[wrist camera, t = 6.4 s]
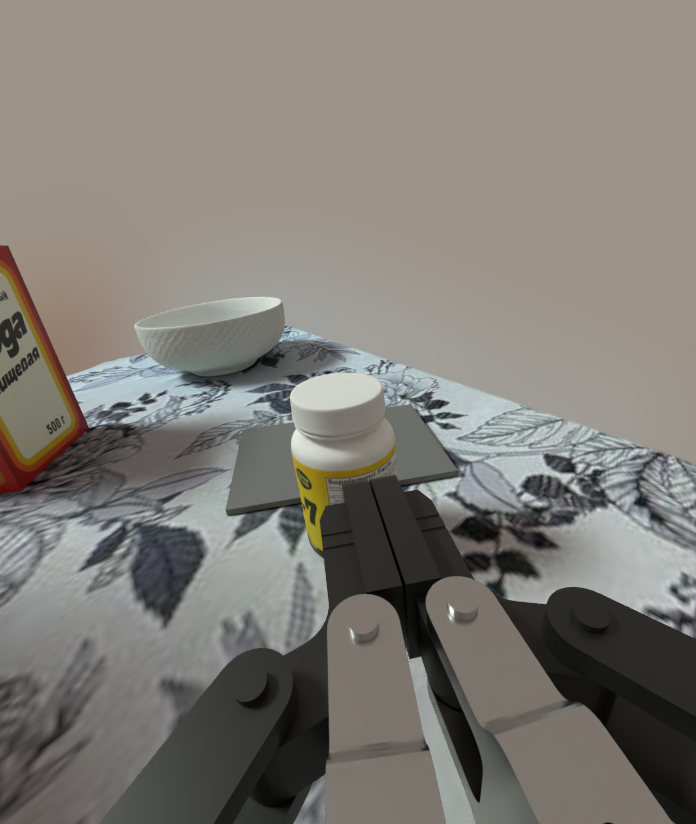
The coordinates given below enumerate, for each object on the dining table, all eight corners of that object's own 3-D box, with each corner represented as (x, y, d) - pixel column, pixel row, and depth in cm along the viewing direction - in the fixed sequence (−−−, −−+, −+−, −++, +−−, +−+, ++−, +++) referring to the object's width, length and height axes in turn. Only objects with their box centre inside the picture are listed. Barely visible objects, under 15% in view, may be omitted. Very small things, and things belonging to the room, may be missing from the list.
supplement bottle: (306, 515, 22) (281, 376, 19) (387, 500, 23) (378, 362, 19) (313, 584, 18) (280, 421, 14) (412, 564, 18) (406, 401, 15)
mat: (457, 475, 24) (457, 470, 24) (227, 515, 23) (225, 510, 23) (411, 408, 33) (410, 404, 33) (243, 434, 32) (242, 430, 32)
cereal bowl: (297, 340, 57) (289, 290, 54) (283, 382, 42) (271, 316, 39) (182, 353, 57) (167, 303, 54) (127, 399, 42) (102, 335, 39)
